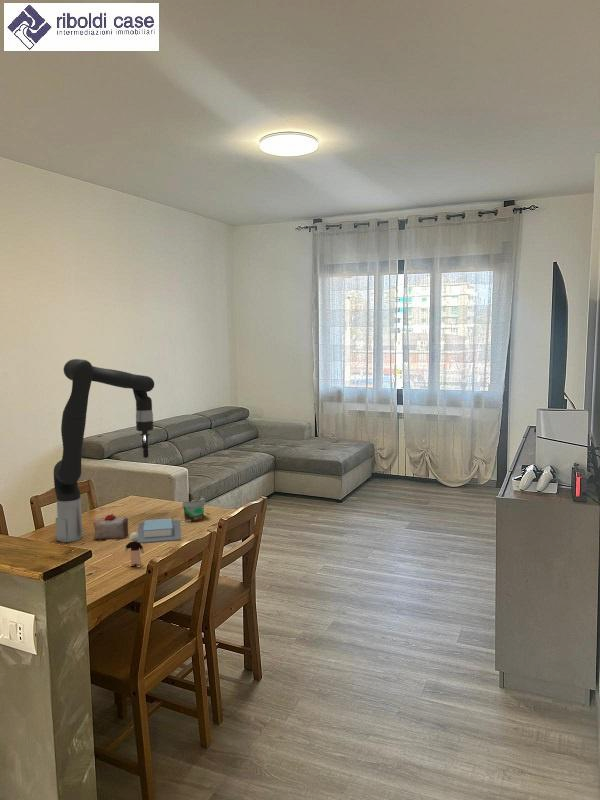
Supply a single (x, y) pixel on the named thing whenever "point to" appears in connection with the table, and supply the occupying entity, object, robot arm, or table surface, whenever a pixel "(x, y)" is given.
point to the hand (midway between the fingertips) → (146, 457)
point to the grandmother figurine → (135, 549)
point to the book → (158, 528)
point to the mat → (175, 537)
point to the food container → (194, 510)
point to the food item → (111, 527)
